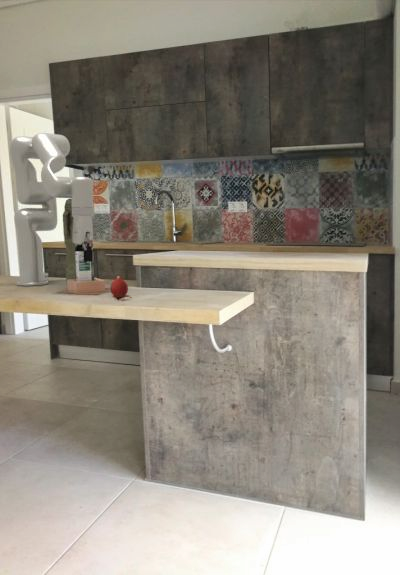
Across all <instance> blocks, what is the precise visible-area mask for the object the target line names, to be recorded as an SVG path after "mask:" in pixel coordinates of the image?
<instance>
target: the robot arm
mask: <svg viewBox="0 0 400 575" xmlns="http://www.w3.org/2000/svg"><path fill="white" fill-rule="evenodd" d="M70 150H71V144H70V142H69V140H68V138H67V137H66V136H65V135H62V134H57V133H49V132H48V133H47V132H40V133H36V134H34V136H15V137H14V138H13V139H12V140H11V141H10V143H9V158H10V161H11V163H12V166H13V169H14V171H13V172H14V179H15V180H14V181H15V194H16V199H17V201H18V203H19V204H21V205H25V206H26V205H27V206H32V205H33V206H41V207H25V208H20V209H18V210H17V211H15V213H14V216H13V218H14V219H13V220H14V224H15V229H16V234H17V243H18V244H17V245H18V263H19V264H18V266H19V279H20V280H18V281H16V285H17V286H25V287H26V286H27V287H28V286H30V287H31V286H43V285H47V284H48V283H49V281H48V279H46V278H48V277H49V273H48V272H44V271H45V270H44V256H43V252H44V251H43V241H42V238H41V237H40V236H39V234H38V233H37V232H47V231H48V232H49V231H53V230H55V229H56V228H57V226H58V206H57V199H72V216H73V235H72V241H73V243H75V252H76V251H83V252H84V262H91V261H93V262H94V247H93V246H94V243H93V242H94V227H93V217H94V213H95V212H94V182H93V179H92V178H91V177H89V176H88V177H87V176H79V177H78V176H75V177H74V176H73V177H72V176H71V177H70V176H56V175H55V174H57V173H59V172H60V171H62V170H63V169H64V168H65V166H66V163H67V159H66V157H67V156H68V155H69V154H70ZM29 159H30V160H31V159H34V160H39V161H40V162H41V164H42V168H41V171H40V177H41V178H40V179H41V181H38V178H37V170H36V167H35V166H34V164H33V163H32V162H31V161H30V160H29ZM83 246H84V248H83Z"/></svg>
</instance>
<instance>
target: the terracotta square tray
mask: <svg viewBox="0 0 400 575" xmlns="http://www.w3.org/2000/svg"><path fill="white" fill-rule="evenodd" d="M66 287H67V289H68V291H70V292H73V293H75V294H81V293H93V292H105V288H106V282H105V279H101V278H98V277H94V281H84V282H78V281H77V279H68V280H67V282H66ZM67 289H66V290H67Z"/></svg>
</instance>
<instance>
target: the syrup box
mask: <svg viewBox="0 0 400 575" xmlns="http://www.w3.org/2000/svg"><path fill="white" fill-rule="evenodd" d="M75 259H76V279H77V281H78V282H84V281H94V278H95V271H94V269H95V268H94V264H95V263H94V260H93V261H91V262H84V252H83V251H76V252H75Z"/></svg>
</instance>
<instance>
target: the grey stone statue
mask: <svg viewBox="0 0 400 575" xmlns="http://www.w3.org/2000/svg"><path fill="white" fill-rule="evenodd" d="M62 225H63V226H62V227H63V240H64V245H65V256H66V258H65V260H66V268H65V281H66V282H65V283H67V280H68V279H76V259H75V243H73V241H72V235H73V216H72V198H67V199H66V200H65V203H64V211H63V213H62ZM83 248H84V246H83Z"/></svg>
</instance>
